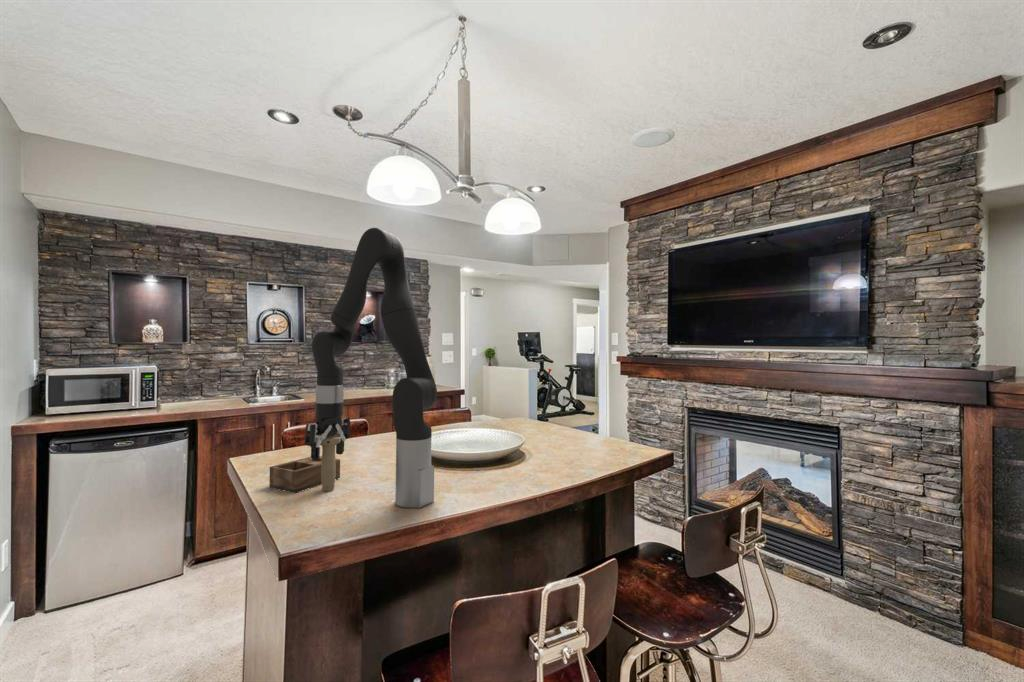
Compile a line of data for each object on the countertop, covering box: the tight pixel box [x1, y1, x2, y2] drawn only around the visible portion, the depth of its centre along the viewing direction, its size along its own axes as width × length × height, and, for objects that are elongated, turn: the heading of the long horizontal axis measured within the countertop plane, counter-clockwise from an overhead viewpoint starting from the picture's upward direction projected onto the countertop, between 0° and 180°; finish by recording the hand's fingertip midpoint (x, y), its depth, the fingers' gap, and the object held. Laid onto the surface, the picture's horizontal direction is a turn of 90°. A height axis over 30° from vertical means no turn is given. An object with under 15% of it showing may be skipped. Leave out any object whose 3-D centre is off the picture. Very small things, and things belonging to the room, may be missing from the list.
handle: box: [320, 435, 341, 492], centre depth 129 cm, size 5×6×15 cm
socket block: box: [269, 455, 341, 494], centre depth 136 cm, size 11×16×6 cm
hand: (328, 457), depth 129 cm, fingers open, 8 cm apart
